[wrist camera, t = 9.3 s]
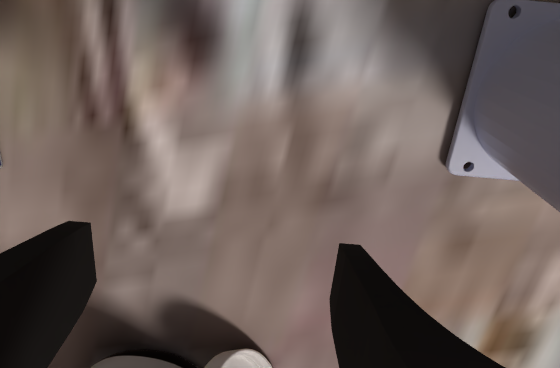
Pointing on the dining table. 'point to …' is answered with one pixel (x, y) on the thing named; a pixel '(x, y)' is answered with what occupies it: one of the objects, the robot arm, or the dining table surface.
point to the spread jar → (182, 360)
